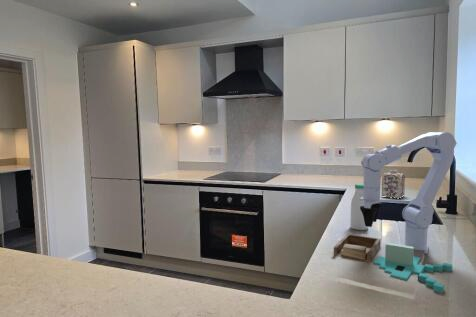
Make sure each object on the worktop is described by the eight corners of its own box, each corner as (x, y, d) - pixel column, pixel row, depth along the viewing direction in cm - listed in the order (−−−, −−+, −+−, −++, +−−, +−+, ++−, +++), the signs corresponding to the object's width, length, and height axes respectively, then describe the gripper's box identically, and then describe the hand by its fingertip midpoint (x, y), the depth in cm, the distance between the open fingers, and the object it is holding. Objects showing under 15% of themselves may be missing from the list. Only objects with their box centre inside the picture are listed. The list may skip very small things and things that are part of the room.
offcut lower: (344, 251, 119) (344, 247, 119) (367, 255, 115) (367, 251, 115) (341, 254, 116) (341, 250, 116) (365, 259, 112) (365, 255, 111)
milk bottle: (366, 231, 146) (367, 186, 144) (348, 229, 150) (349, 184, 148) (369, 227, 152) (371, 183, 151) (352, 224, 156) (353, 182, 155)
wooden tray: (347, 243, 130) (347, 233, 130) (380, 249, 124) (380, 238, 124) (333, 258, 115) (333, 247, 115) (370, 265, 109) (370, 253, 109)
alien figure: (451, 271, 106) (385, 256, 118) (452, 264, 106) (385, 250, 118) (442, 295, 90) (367, 275, 103) (442, 287, 90) (367, 268, 103)
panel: (386, 258, 111) (386, 242, 110) (413, 263, 107) (413, 246, 106) (385, 260, 109) (385, 244, 109) (412, 265, 105) (413, 248, 104)
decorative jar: (380, 197, 221) (381, 170, 220) (386, 194, 230) (387, 168, 229) (400, 199, 214) (401, 171, 212) (405, 196, 223) (406, 170, 221)
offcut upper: (345, 247, 118) (345, 243, 118) (365, 251, 115) (366, 246, 115) (342, 251, 115) (343, 246, 115) (364, 254, 112) (364, 250, 112)
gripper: (364, 183, 129) (363, 218, 130) (355, 189, 117) (354, 227, 118) (384, 185, 126) (383, 220, 127) (377, 190, 113) (375, 230, 115)
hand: (370, 223), depth 122 cm, fingers open, 7 cm apart
